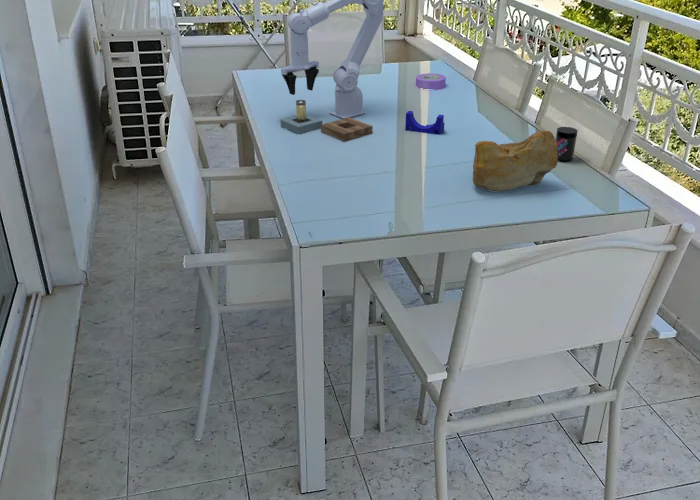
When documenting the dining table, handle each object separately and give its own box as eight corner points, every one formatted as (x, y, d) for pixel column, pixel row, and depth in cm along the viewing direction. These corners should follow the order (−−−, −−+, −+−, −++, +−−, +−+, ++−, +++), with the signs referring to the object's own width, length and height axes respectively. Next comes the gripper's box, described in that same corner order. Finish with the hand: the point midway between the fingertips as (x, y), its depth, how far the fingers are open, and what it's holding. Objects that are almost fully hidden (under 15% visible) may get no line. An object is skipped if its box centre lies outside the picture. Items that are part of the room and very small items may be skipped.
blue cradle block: (443, 131, 232) (445, 113, 229) (440, 135, 229) (441, 117, 226) (409, 126, 236) (410, 109, 233) (405, 130, 233) (405, 113, 230)
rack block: (304, 120, 242) (304, 113, 240) (322, 127, 235) (322, 120, 234) (280, 126, 236) (280, 119, 235) (298, 134, 229) (298, 126, 228)
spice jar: (302, 125, 237) (301, 99, 233) (308, 127, 235) (307, 101, 231) (295, 127, 236) (293, 101, 231) (300, 129, 233) (299, 103, 229)
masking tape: (412, 89, 276) (413, 79, 274) (418, 81, 286) (419, 72, 284) (442, 91, 273) (443, 81, 271) (447, 83, 283) (448, 74, 281)
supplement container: (551, 155, 212) (555, 126, 208) (571, 155, 212) (575, 127, 207) (554, 162, 207) (558, 132, 203) (574, 163, 207) (579, 133, 202)
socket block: (348, 124, 238) (348, 117, 237) (372, 133, 230) (372, 126, 229) (321, 132, 231) (320, 124, 230) (344, 141, 223) (344, 134, 222)
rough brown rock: (535, 170, 204) (538, 119, 198) (561, 188, 189) (565, 134, 183) (458, 178, 201) (459, 127, 195) (478, 197, 186) (479, 142, 180)
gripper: (289, 57, 226) (291, 98, 232) (324, 50, 234) (325, 90, 241) (276, 53, 230) (278, 94, 237) (311, 46, 239) (312, 86, 245)
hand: (301, 91), depth 239 cm, fingers open, 7 cm apart
